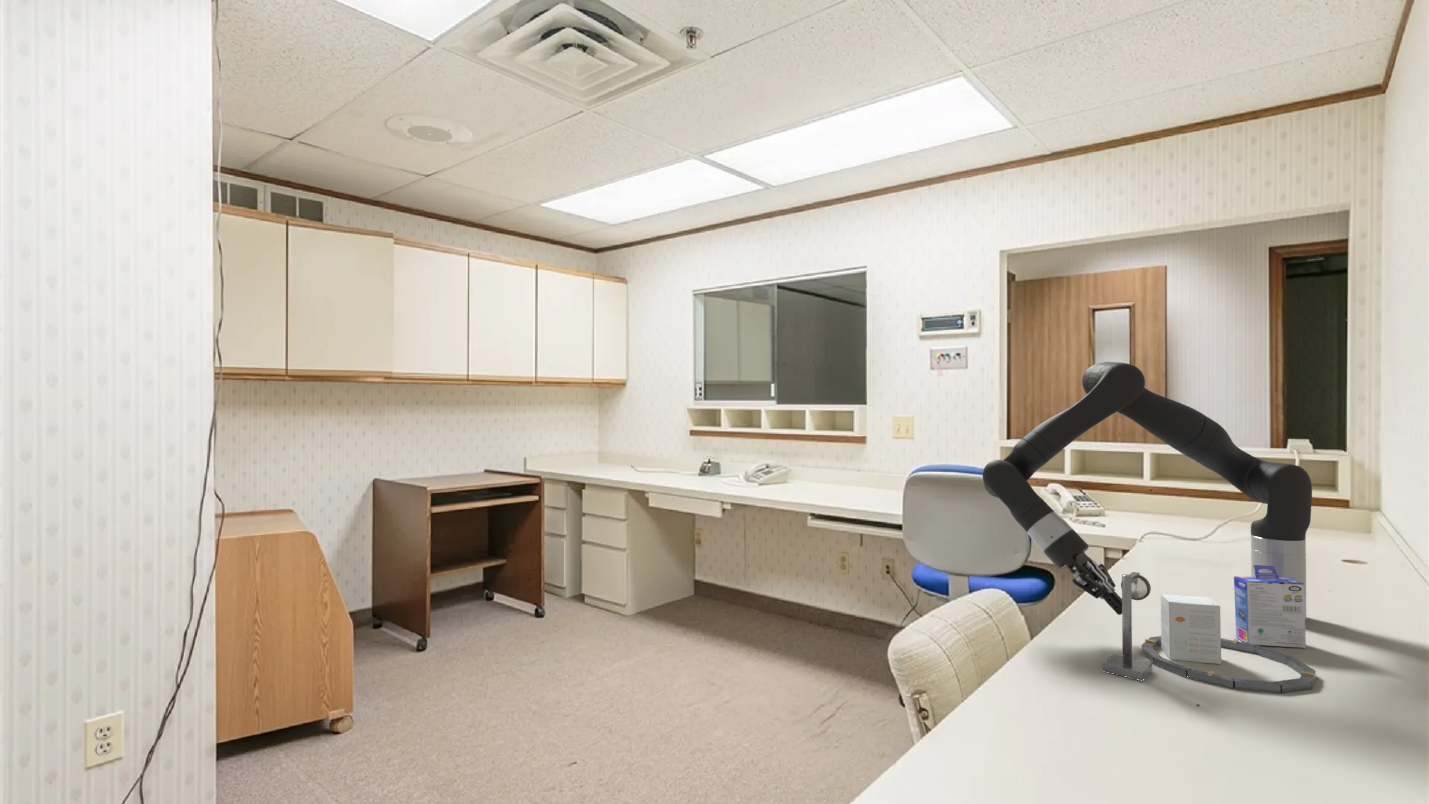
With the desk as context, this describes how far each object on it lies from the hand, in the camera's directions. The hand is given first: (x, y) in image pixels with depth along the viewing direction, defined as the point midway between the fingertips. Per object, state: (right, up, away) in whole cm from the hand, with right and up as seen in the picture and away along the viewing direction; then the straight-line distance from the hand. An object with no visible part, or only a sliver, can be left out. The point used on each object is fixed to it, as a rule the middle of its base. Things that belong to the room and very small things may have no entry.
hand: (1124, 611), depth 133 cm
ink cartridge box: (+28, -6, 0) cm, 29 cm away
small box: (+7, -6, -8) cm, 12 cm away
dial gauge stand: (-7, -6, -14) cm, 16 cm away
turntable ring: (+11, -6, -11) cm, 17 cm away
